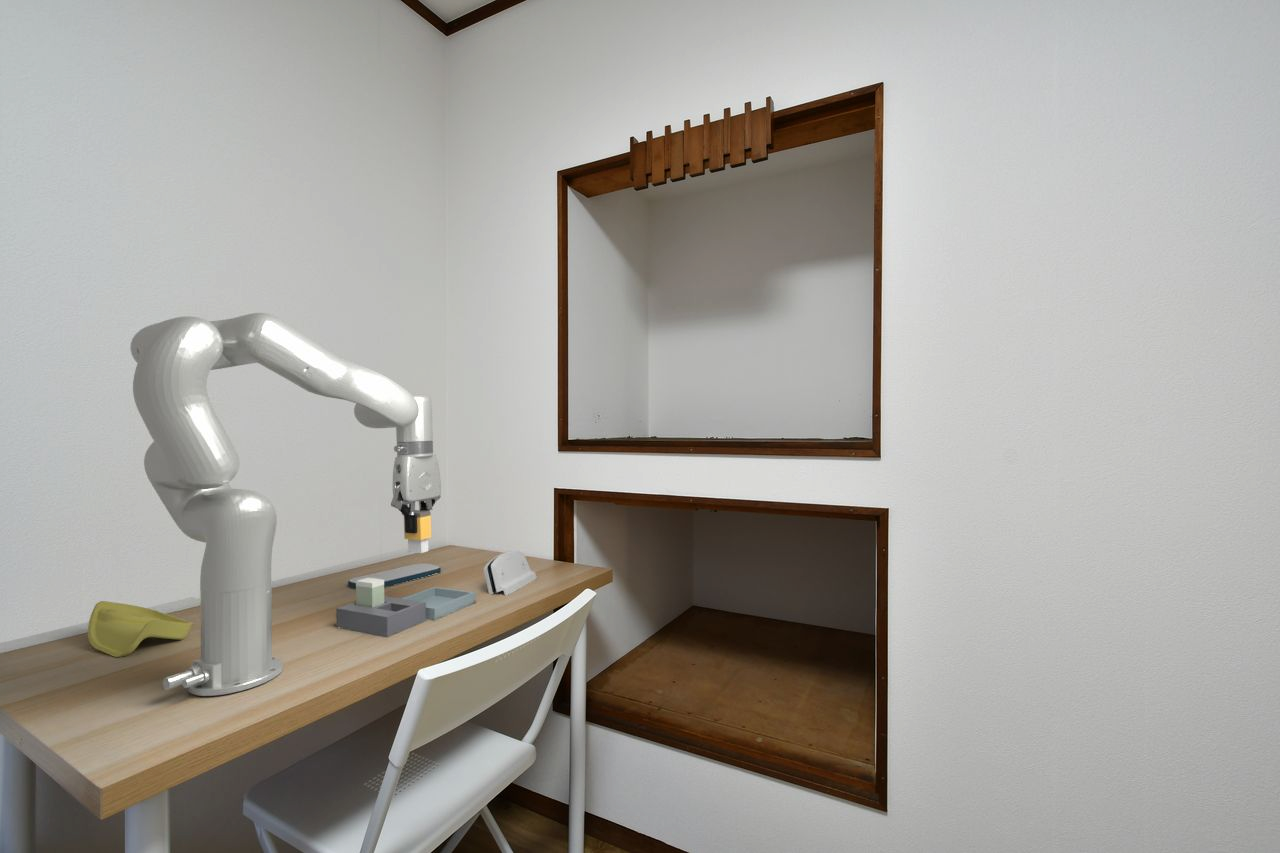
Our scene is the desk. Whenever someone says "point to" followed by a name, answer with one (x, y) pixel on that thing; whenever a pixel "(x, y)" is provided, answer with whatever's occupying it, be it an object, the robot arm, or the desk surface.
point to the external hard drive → (400, 574)
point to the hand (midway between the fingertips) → (417, 530)
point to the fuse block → (379, 611)
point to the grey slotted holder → (508, 572)
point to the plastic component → (130, 627)
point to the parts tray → (443, 601)
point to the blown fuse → (419, 533)
